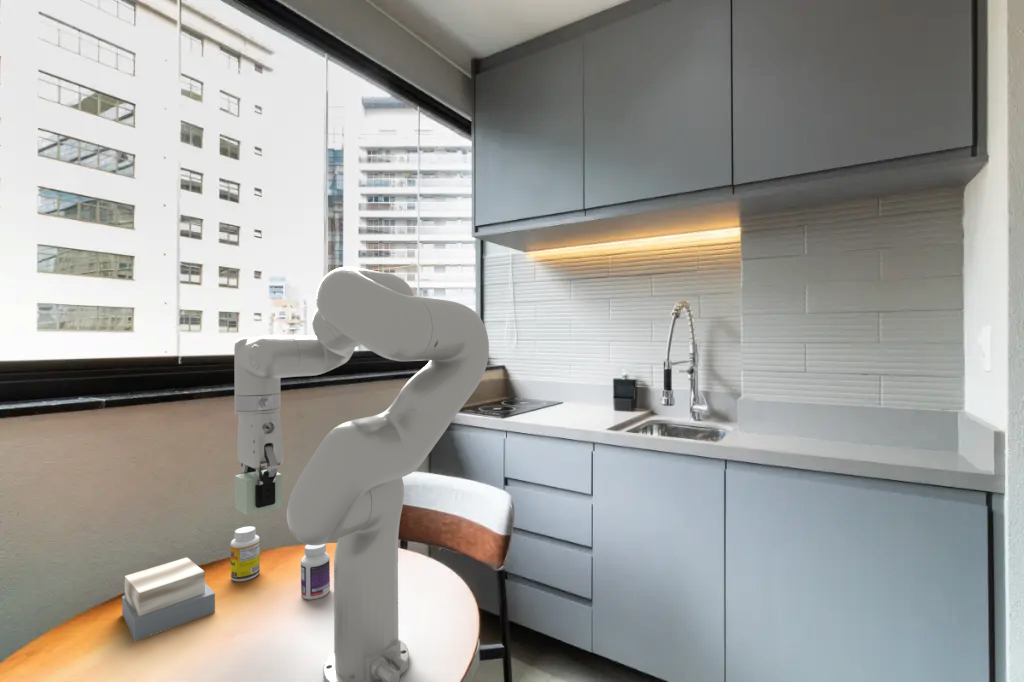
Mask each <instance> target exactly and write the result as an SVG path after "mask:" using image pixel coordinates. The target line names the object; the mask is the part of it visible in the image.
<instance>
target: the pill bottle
mask: <svg viewBox="0 0 1024 682" xmlns="http://www.w3.org/2000/svg"><path fill="white" fill-rule="evenodd" d="M326 551H327V543H326V544H323V545H307V544H305V546H304V556H303V557H302V558H301V561H300V594H301V597H302V599H304V600H310V601H311V600H317V599H321V598H323V597H325V596H326V595H327V594H329V592H330V588H331V584H330V583H331V577H330V572H331V570H330V569H331V568H330V563H331V562H330V560H331V559H330V554H329V553H327V552H326Z"/></svg>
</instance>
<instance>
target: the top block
mask: <svg viewBox="0 0 1024 682" xmlns="http://www.w3.org/2000/svg"><path fill="white" fill-rule="evenodd" d="M205 573H206V572H205V570H204V569H202V568H201V567H199V566H198V565H197V564H196V563H195V562H193V561H192V560H191V559H190V558H188V557H187V556H185V557H183V558H180V559H176V560H173V561H169V562H166V563H162V564H160V565H156V566H153V567H150V568H147V569H144V570H140V571H136V572H133V573H130V574H127V575H124V596H125V599H126V600H127V601H128V602H129V604H130V605H131V606H132V608H133V609H134V610H135V611H136V613H137V614H138V615H139V616H142V615H144V614H147V613H150V612H153V611H156V610H158V609H161V608H164V607H167V606H169V605H172V604H175V603H178V602H181V601H183V600H186V599H189V598H192V597H195V596H197V595H200V594H203V593H205V583H206V580H205V577H206V575H205Z"/></svg>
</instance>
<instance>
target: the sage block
mask: <svg viewBox="0 0 1024 682" xmlns="http://www.w3.org/2000/svg"><path fill="white" fill-rule="evenodd" d="M265 471H267V470H263V471H262V476H263V474H264V472H265ZM282 476H283V474H282V473H279V472H278V471H277V474H276V482H275V504H273V505H269V506H264V507H260V508H257V507H256V506H255V485H258V483H257V476H256V471H255V472H250V473H244V474H241V473H240V474H234V509H235V510H238V511H239V512H240V513H242V514H244V515H245V516H250V515H253V514H259V513H261V512H266V511H270V510H275V509H278V508H282V507H283V489H282V487H283V485H282V484H283V477H282Z"/></svg>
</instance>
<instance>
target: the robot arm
mask: <svg viewBox="0 0 1024 682" xmlns="http://www.w3.org/2000/svg"><path fill="white" fill-rule="evenodd" d="M317 287H318V288H317V290H316V296H315V299H316V300H315V303H316V307H317V309H315V311H314V313H313V316H312V323H311V324H312V329H313V330H312V331H313V333H314V335H303V334H302V335H298V334H297V335H293V334H292V335H290V334H288V335H287V334H284V335H283V334H282V335H281V334H271V335H270V334H267V335H262V336H258V337H257V336H256V337H251V336H250V337H242V338H239V339H237V340H236V341H235V343H234V349H233V351H234V356H233V357H234V414H235V415H238V421H237V422H238V424H237V437H236V439H237V444H236V445H237V448H236V449H237V460H238V462H239V463H240V464H241V465H240V466H241V473H240V474H244V473H250V472H255V471H256V476H257V483H258V485H255V506H256V507H257V508H260V507H264V506H269V505H273V504H275V482H276V474H277V472H278V470H279V466H281V465H282V464H283V463H284V446H283V445H284V443H283V432H282V431H283V430H282V421H281V415H280V411H281V404H282V401H281V379H283V378H284V379H285V378H294V377H295V378H296V377H312V376H318V375H322V374H325V373H327V372H330V371H332V370H334V369H337V368H339V367H340V366H343V365H344V364H346V363H348V361H349V360H350V359H351V357H352V355H353V354H354V351H355V349H356V347H357V348H358V347H359V346H360V345H361V346H363V347H365V348H366V349H368V350H369V351H371V352H372V353H374V354H376V355H378V356H380V357H382V358H384V359H386V360H387V359H388V360H390V361H397V362H416V361H417V362H419V361H428V363H427V364H425V366H423V367H422V368H421V369H420V370H419V371H418V372H416V373H415V374H414V375H413V376H411V377H410V379H409V380H408V381H406V383H405V384H404V385H403V387H402V388H401V390H400V391H399V392H398V395H397V396H396V398H395V399H394V400H393V402H392V403H391V404H390V406H389V407H388V408H387V409H386V410H384V411H383V412H381V413H379V414H375V415H371V416H366V417H362V418H356V419H351V420H347V421H344V422H342V423H340V424H338V425H337V426H336V427H334V428H333V429H331V430H330V431H329V432H328V433H327V434H326V435H325V436H324V438H323V439H322V441H321V442H320V444H319V445H318V446H317V448H316V449H315V452H314V453H312V454H313V455H312V456H311V458H310V460H309V461H308V462H307V464H306V466H305V467H304V469H303V470H302V473H301V474H300V475H299V477H298V479H297V481H296V482H295V483H294V486H293V488H292V490H291V492H290V495H289V497H288V501H287V506H286V508H287V509H286V520H287V525H288V528H289V531H290V533H291V534H292V535H293V536H294V538H295V539H296V540H297V541H299V542H300V543H302V544H305V545H323V544H326V545H327V544H328V543H333V542H335V541H337V542H336V546H335V550H334V551H335V552H334V556H333V557H334V559H333V621H334V622H333V625H334V626H333V633H334V634H333V637H334V641H333V644H334V645H333V650H334V651H333V652H332V653H331V654H330V655H329V656H328V657H327V659H326V661H325V663H324V664H323V673H322V674H323V681H324V682H400V678H401V676H402V675H403V674H404V673H405V672H406V671H407V670H408V668H409V661H410V658H409V657H410V655H409V654H410V652H409V648H408V647H407V645H406V644H405V642H403V641H402V640H401V639H400V638H399V532H400V522H401V516H402V515H401V514H402V510H403V505H404V497H405V485H404V480H403V478H404V477H407V476H409V475H410V474H412V473H414V472H415V471H417V470H418V469H419V468H420V467H421V465H422V464H423V463H424V461H425V460H426V458H427V457H428V455H429V454H430V453H431V452H432V450H433V449H434V448H435V446H436V444H437V443H438V441H439V440H440V439H441V437H442V436H443V435H444V433H445V432H446V430H447V429H448V427H449V426H450V425H451V423H452V421H453V420H454V419H455V417H456V415H458V413H459V412H460V410H461V409H462V408H463V407H464V405H465V404H466V403H467V401H468V400H469V399H470V397H471V396H472V395H473V393H474V392H475V390H476V389H477V388H478V386H479V384H480V383H481V381H482V379H483V377H484V375H485V371H486V369H487V366H488V361H489V356H490V342H489V335H488V331H487V329H486V326H485V324H484V322H483V320H482V319H481V317H480V316H479V314H478V313H477V312H475V311H474V310H473V309H472V308H471V307H468V306H467V305H465V304H462V303H459V302H456V301H451V300H446V299H438V298H429V297H428V298H427V297H422V296H415V294H414V291H413V289H412V287H411V286H410V285H409V284H408V282H406V281H405V280H404V279H402V278H401V277H399V276H397V275H394V274H392V273H390V272H389V273H388V272H383V271H377V270H371V269H367V268H361V267H356V266H341V267H338V268H335V269H333V270H331V271H330V272H328V273H327V274H326V275H325V276H324V277H323V278H322V279H321V281H320V282H319V284H318V286H317ZM263 464H266V465H263ZM262 465H263V466H262ZM263 470H267V471H265V472H264V474H263V476H262V471H263Z"/></svg>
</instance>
